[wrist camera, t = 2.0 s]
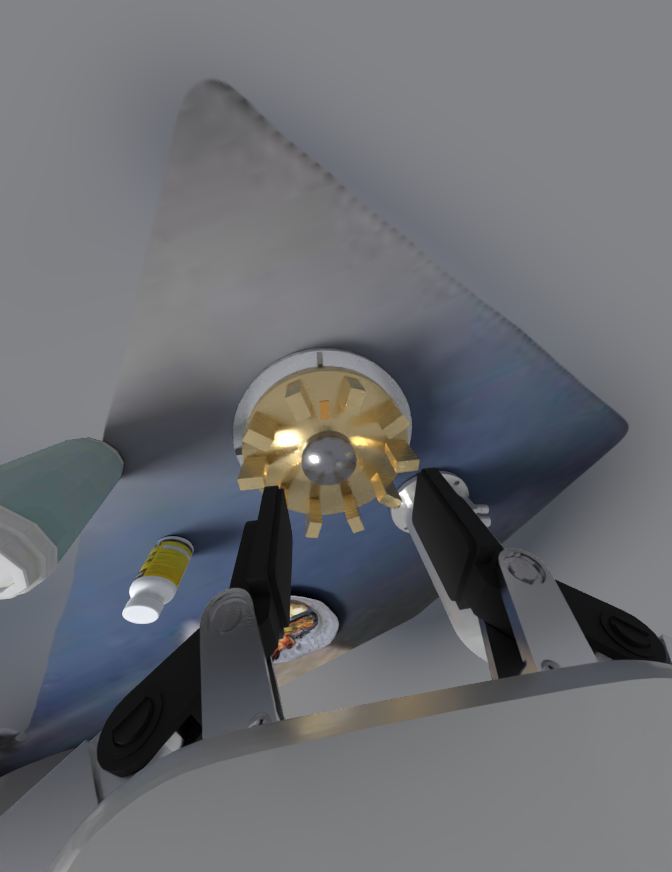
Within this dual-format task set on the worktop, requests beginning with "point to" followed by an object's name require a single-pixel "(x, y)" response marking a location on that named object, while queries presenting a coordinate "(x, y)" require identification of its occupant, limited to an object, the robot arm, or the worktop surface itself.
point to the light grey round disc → (308, 360)
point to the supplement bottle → (158, 579)
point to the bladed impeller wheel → (327, 444)
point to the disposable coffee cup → (49, 507)
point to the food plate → (313, 641)
